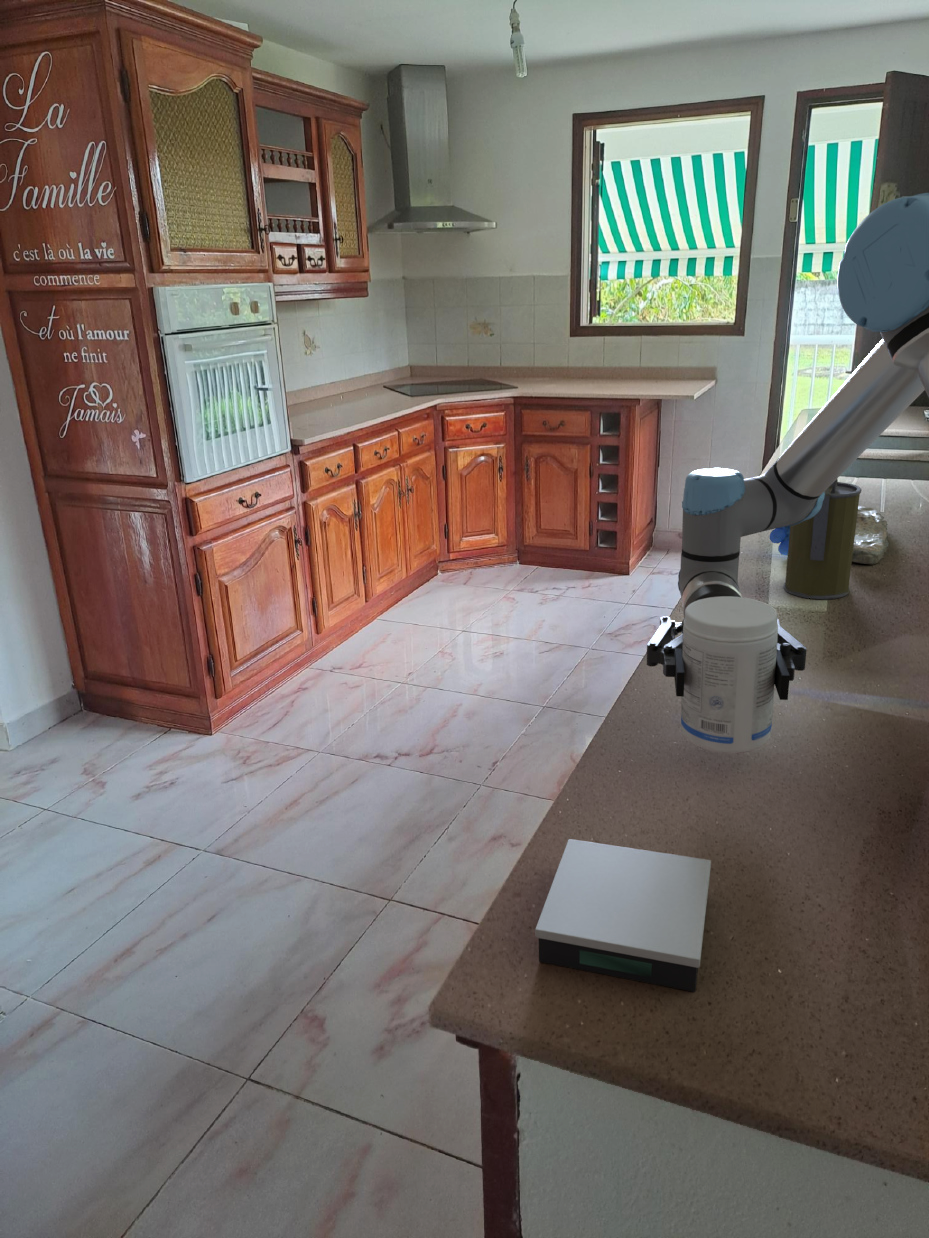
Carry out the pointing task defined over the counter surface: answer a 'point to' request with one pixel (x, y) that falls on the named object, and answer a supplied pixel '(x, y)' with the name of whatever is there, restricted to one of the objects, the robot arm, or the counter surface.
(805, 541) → the canister
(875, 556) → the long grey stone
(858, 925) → the counter surface
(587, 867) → the kitchen scale
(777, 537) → the grapes
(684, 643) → the supplement tub
